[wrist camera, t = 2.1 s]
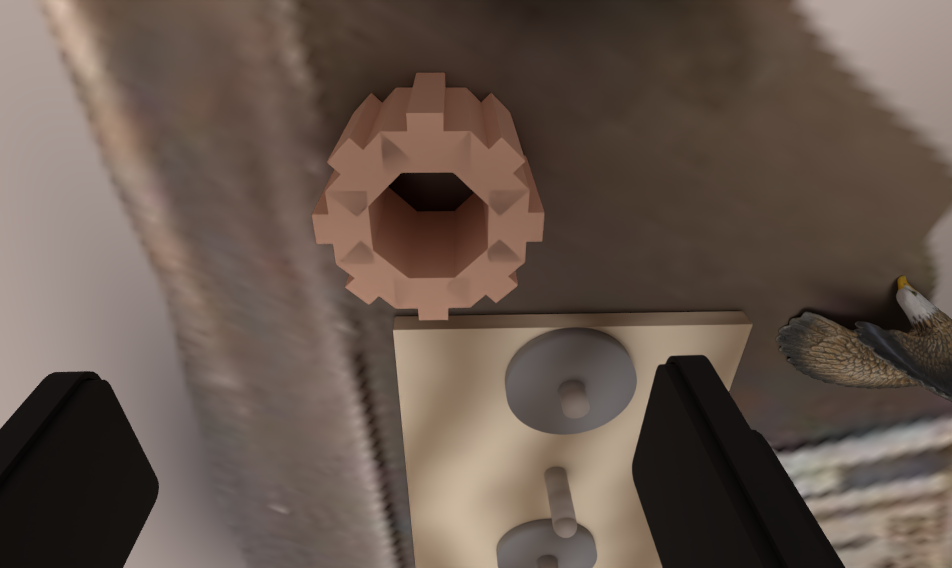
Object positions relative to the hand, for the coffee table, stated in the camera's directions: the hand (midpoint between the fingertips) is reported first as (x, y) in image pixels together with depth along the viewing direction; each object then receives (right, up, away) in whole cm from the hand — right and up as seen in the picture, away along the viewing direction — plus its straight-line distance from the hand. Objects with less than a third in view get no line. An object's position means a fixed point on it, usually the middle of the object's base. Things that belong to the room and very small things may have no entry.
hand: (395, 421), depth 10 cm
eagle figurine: (+21, +1, +16) cm, 26 cm away
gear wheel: (0, +7, +11) cm, 13 cm away
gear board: (+6, -7, +21) cm, 23 cm away
